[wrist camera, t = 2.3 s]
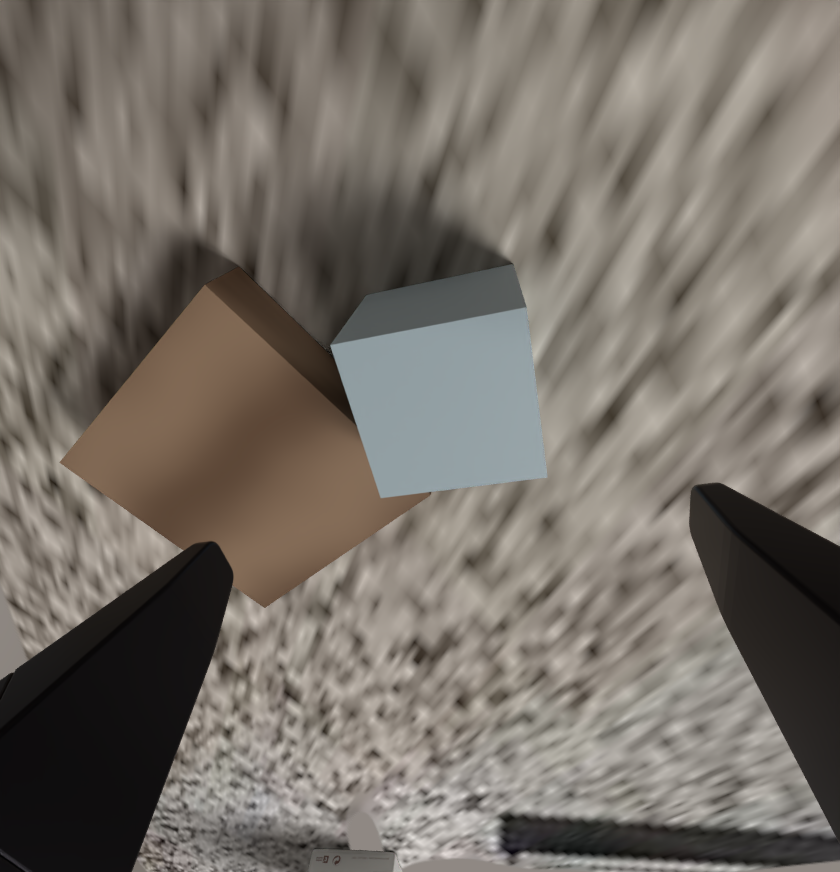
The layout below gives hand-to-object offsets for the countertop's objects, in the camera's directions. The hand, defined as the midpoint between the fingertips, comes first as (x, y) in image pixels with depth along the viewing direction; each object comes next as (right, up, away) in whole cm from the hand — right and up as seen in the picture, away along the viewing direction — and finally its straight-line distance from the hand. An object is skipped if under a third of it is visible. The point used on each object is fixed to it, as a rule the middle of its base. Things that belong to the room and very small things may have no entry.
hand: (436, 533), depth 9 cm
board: (-7, +1, +11) cm, 13 cm away
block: (+1, +5, +8) cm, 10 cm away
